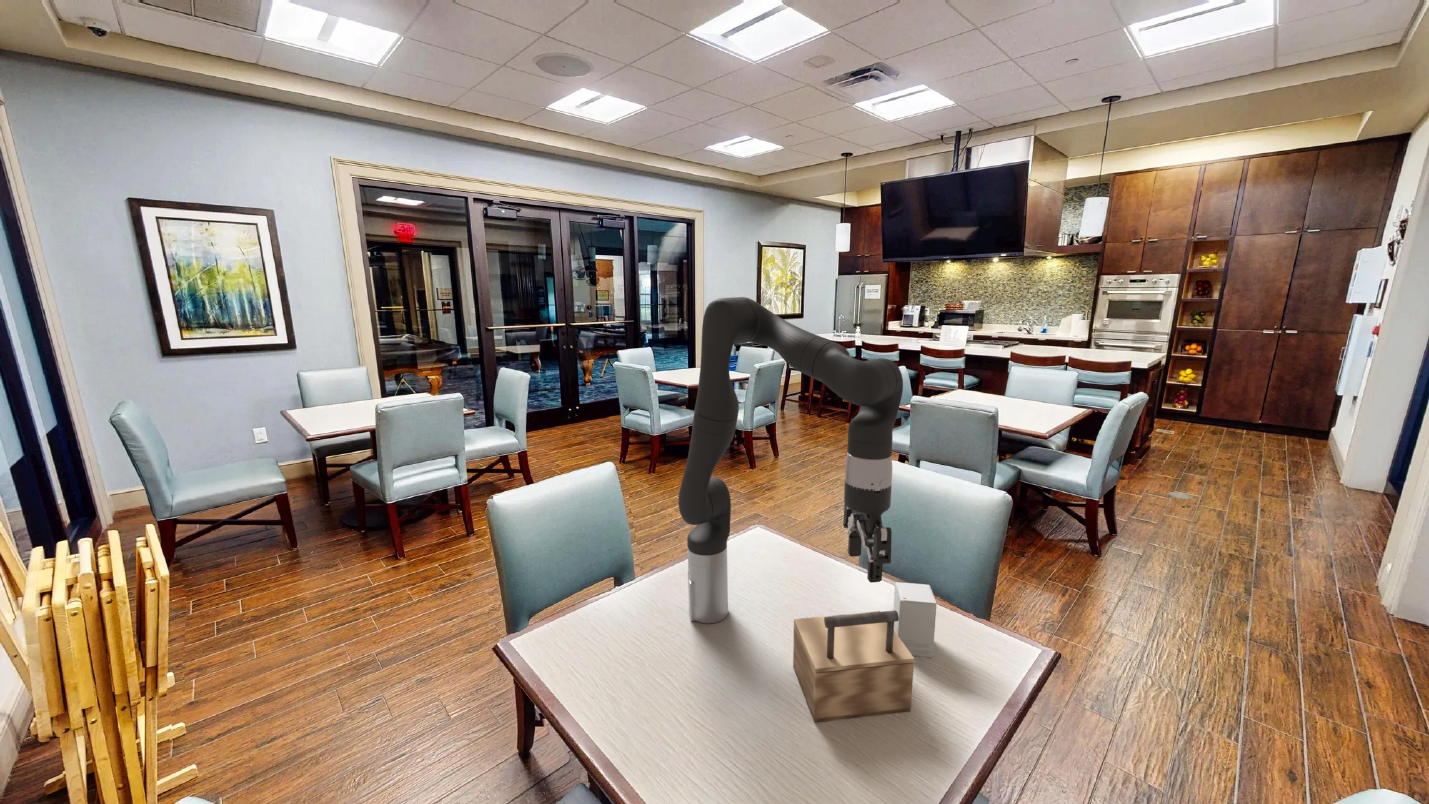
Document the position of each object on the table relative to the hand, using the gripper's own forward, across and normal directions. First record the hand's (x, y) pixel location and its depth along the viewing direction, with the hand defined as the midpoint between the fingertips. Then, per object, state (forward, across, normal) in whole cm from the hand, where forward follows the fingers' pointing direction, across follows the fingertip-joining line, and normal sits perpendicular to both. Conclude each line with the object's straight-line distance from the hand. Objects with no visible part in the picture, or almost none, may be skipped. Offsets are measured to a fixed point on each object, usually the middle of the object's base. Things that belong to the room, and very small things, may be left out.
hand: (864, 567), depth 89 cm
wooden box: (+28, -4, 0) cm, 28 cm away
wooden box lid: (+18, -4, 0) cm, 18 cm away
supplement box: (+28, -14, +18) cm, 36 cm away
